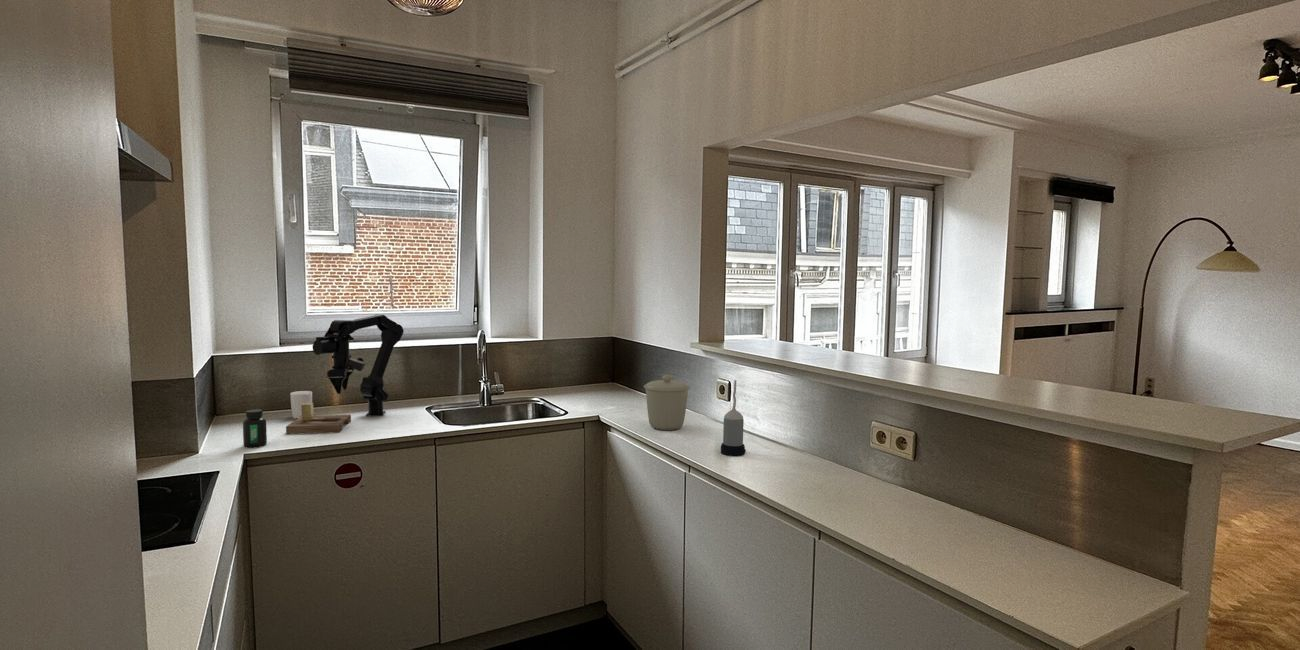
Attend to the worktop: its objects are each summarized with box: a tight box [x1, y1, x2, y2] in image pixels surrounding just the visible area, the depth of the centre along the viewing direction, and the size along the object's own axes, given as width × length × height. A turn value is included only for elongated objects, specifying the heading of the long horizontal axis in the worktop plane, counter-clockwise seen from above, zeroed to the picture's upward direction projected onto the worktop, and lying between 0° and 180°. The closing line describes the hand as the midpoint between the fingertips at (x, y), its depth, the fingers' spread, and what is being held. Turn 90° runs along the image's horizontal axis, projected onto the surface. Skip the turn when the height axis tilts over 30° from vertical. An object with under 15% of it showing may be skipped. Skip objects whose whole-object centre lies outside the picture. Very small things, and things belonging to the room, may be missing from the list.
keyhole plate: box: [285, 413, 352, 435], centre depth 249 cm, size 18×18×3 cm
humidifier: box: [720, 379, 747, 457], centre depth 221 cm, size 8×8×25 cm
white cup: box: [289, 390, 313, 419], centre depth 265 cm, size 8×8×10 cm
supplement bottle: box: [242, 408, 268, 449], centre depth 222 cm, size 7×7×12 cm
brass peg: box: [301, 402, 314, 421], centre depth 248 cm, size 4×4×9 cm
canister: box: [643, 373, 691, 431], centre depth 257 cm, size 18×18×21 cm
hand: (342, 391), depth 258 cm, fingers open, 9 cm apart
